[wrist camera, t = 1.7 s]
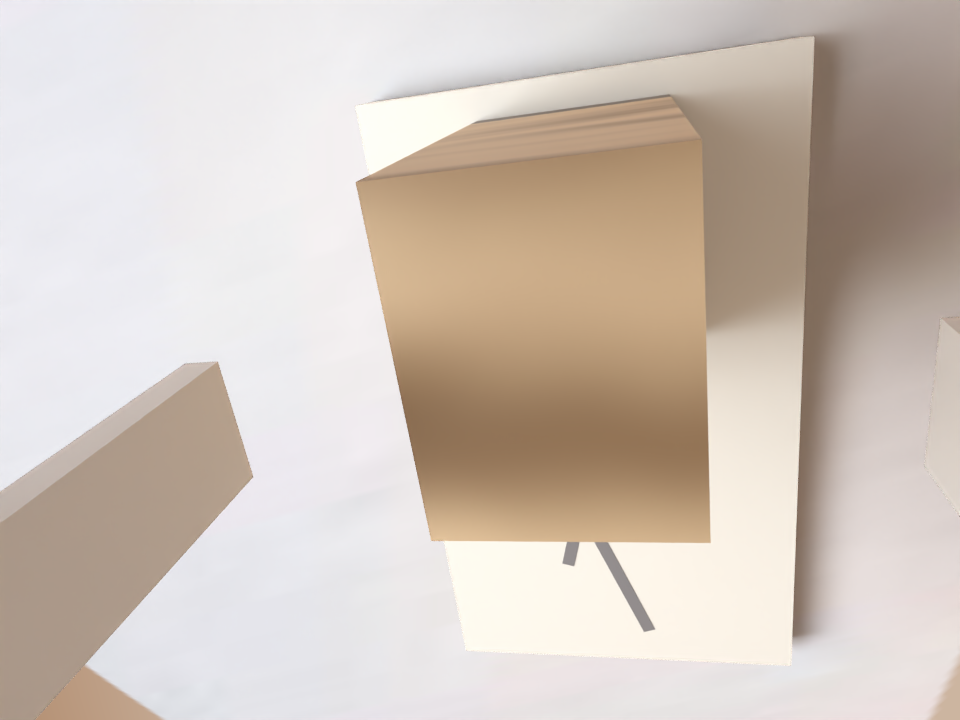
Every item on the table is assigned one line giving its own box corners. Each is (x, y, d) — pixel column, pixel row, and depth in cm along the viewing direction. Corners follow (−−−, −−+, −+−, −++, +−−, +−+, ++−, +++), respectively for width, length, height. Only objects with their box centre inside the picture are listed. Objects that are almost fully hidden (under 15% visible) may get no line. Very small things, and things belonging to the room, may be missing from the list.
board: (370, 102, 24) (354, 105, 23) (802, 36, 21) (814, 36, 20) (472, 626, 34) (466, 651, 32) (784, 638, 30) (791, 666, 29)
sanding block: (476, 120, 22) (355, 182, 13) (669, 94, 21) (701, 139, 11) (508, 349, 26) (431, 540, 16) (678, 338, 24) (710, 542, 14)
